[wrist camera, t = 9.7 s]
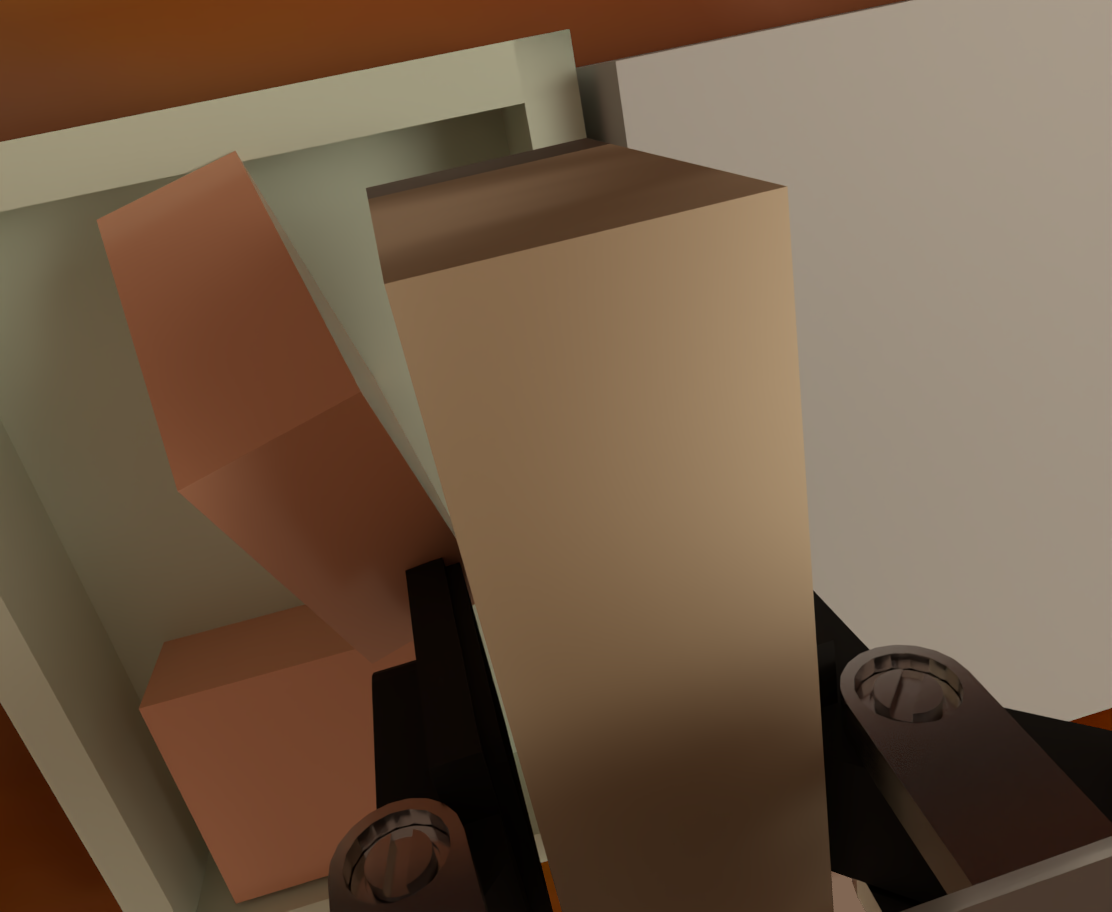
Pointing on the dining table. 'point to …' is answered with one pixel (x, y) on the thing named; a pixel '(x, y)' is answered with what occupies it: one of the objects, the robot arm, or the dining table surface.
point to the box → (132, 431)
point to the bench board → (933, 310)
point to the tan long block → (628, 508)
